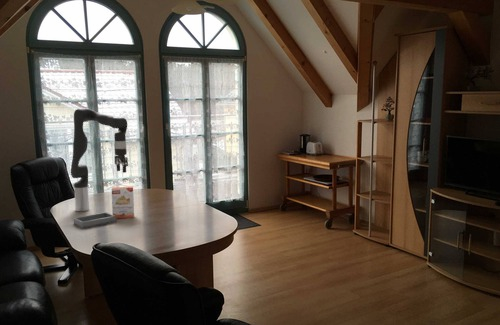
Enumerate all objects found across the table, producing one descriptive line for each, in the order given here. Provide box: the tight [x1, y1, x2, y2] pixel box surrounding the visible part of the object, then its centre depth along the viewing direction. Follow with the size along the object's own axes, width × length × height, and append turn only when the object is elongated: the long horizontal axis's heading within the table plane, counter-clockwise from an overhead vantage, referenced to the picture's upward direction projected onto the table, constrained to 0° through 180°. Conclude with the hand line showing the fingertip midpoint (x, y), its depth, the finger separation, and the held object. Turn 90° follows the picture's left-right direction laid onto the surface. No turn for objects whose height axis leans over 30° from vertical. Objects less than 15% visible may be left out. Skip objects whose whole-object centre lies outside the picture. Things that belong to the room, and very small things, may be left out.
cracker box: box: [111, 186, 135, 220], centre depth 282 cm, size 14×6×21 cm, turn 105°
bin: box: [72, 212, 117, 230], centre depth 270 cm, size 14×22×4 cm, turn 134°
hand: (121, 171), depth 279 cm, fingers open, 8 cm apart
